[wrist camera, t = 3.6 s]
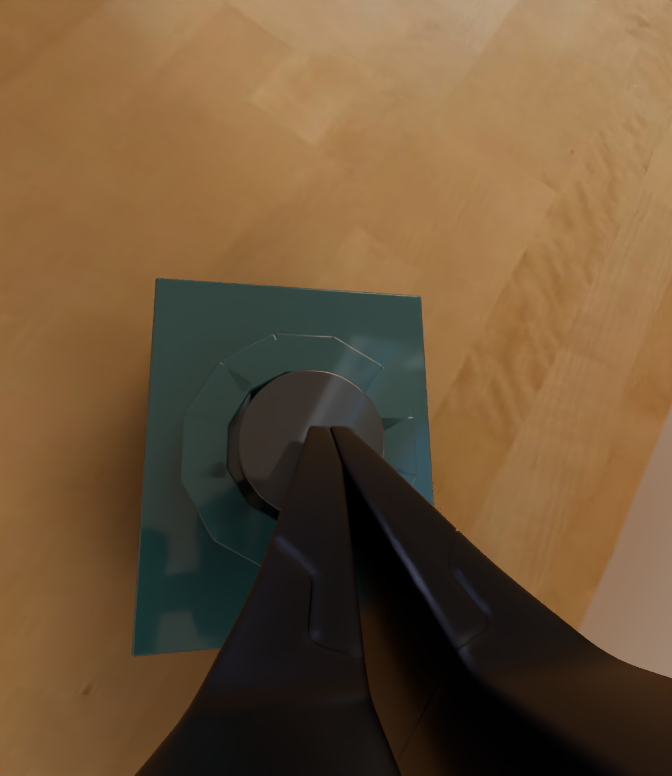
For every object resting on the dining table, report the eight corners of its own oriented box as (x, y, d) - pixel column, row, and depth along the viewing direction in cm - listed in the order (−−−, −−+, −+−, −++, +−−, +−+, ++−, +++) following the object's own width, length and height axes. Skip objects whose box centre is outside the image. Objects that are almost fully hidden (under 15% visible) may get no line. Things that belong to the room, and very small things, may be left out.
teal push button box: (374, 579, 21) (470, 648, 12) (170, 594, 19) (112, 687, 10) (367, 351, 23) (443, 273, 14) (182, 343, 21) (143, 248, 13)
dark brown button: (366, 510, 13) (389, 515, 11) (236, 515, 12) (236, 521, 10) (361, 387, 14) (383, 370, 12) (239, 384, 13) (240, 366, 11)
